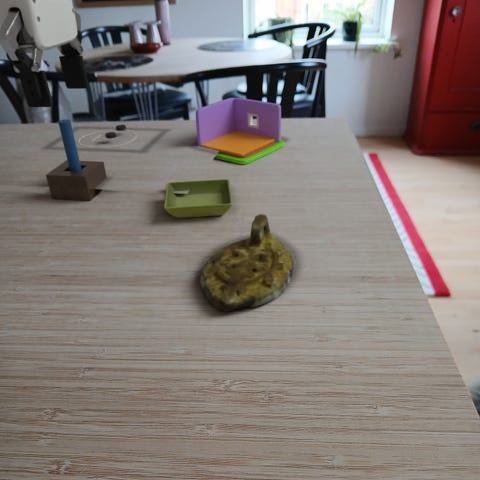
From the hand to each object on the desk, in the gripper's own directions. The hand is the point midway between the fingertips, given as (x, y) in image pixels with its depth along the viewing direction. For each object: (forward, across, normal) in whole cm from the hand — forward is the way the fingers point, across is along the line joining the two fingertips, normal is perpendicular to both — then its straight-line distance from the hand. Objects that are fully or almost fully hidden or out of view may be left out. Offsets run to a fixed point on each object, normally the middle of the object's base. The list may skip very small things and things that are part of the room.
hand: (60, 96), depth 67 cm
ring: (+13, -21, -6) cm, 25 cm away
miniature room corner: (+13, -21, +18) cm, 31 cm away
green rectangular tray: (+14, +3, +18) cm, 23 cm away
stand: (+13, 0, 0) cm, 13 cm away
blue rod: (+13, 0, 0) cm, 13 cm away
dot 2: (+12, -23, -4) cm, 26 cm away
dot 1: (+12, -19, -4) cm, 23 cm away
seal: (+14, +19, +28) cm, 37 cm away
